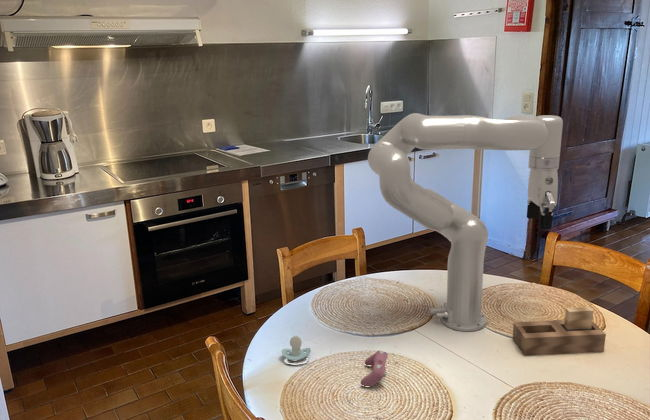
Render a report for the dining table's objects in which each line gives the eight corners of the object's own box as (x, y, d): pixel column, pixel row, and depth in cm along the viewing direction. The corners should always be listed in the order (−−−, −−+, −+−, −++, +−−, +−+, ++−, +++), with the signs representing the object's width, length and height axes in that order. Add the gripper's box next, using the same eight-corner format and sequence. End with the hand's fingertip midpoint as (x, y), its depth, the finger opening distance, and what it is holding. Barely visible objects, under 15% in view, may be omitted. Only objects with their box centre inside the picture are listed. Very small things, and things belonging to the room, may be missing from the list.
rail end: (565, 346, 134) (569, 311, 131) (562, 342, 136) (565, 308, 133) (589, 346, 134) (593, 310, 131) (585, 341, 136) (589, 307, 133)
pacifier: (310, 367, 131) (311, 353, 137) (309, 345, 129) (309, 332, 135) (281, 368, 131) (283, 354, 137) (279, 346, 129) (281, 333, 135)
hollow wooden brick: (524, 355, 131) (525, 338, 130) (512, 339, 139) (513, 322, 137) (603, 351, 131) (605, 334, 130) (587, 335, 139) (589, 318, 137)
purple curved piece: (376, 395, 121) (389, 372, 119) (358, 386, 121) (371, 363, 119) (380, 370, 130) (392, 349, 128) (363, 362, 130) (375, 341, 128)
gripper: (571, 169, 131) (564, 233, 136) (546, 156, 148) (541, 214, 153) (540, 169, 132) (535, 233, 137) (519, 156, 148) (515, 214, 153)
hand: (538, 223), depth 145 cm, fingers open, 9 cm apart
